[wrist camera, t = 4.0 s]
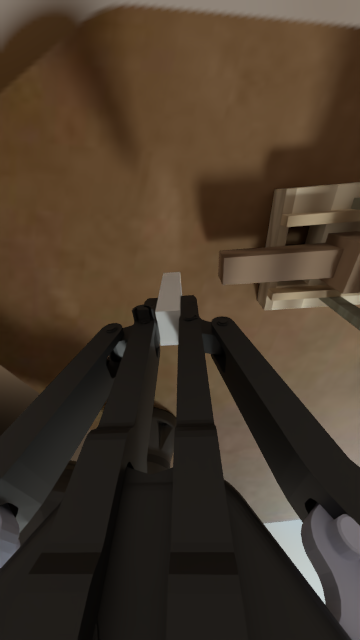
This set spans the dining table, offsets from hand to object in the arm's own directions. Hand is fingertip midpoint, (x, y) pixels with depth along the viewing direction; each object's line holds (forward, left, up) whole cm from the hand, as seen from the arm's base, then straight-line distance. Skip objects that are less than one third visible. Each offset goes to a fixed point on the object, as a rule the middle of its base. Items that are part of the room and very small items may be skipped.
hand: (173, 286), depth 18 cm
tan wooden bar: (+14, 0, -7) cm, 16 cm away
